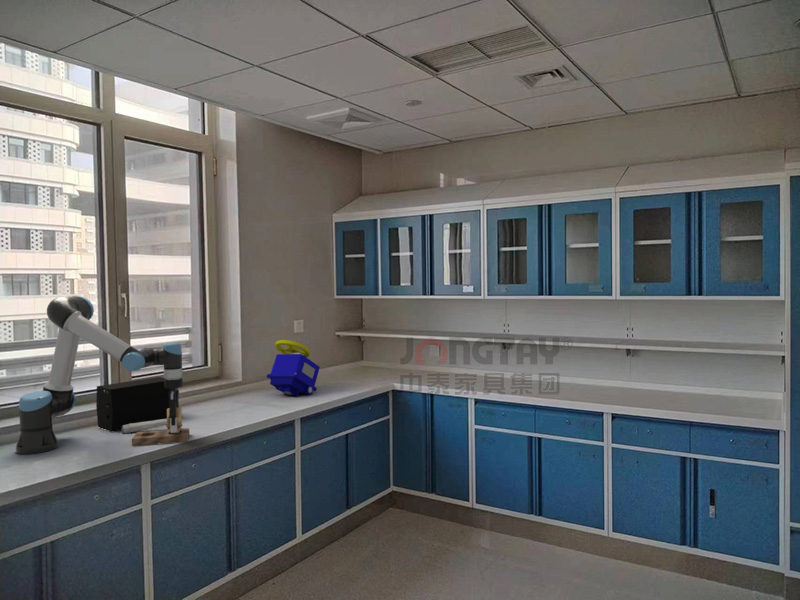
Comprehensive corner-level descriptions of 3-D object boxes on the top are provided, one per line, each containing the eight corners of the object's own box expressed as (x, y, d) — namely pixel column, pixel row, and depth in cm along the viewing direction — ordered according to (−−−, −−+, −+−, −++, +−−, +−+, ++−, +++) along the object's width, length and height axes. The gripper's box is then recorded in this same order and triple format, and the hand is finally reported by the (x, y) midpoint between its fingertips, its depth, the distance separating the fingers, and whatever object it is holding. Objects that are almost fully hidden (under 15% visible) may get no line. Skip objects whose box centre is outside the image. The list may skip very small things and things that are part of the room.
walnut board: (132, 445, 251) (131, 438, 251) (137, 438, 262) (137, 431, 262) (186, 441, 256) (186, 434, 256) (189, 434, 268) (189, 428, 268)
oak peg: (166, 435, 257) (165, 410, 256) (168, 432, 263) (167, 407, 262) (181, 434, 258) (180, 409, 258) (183, 431, 264) (182, 406, 264)
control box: (287, 386, 338) (302, 338, 351) (253, 385, 351) (268, 340, 365) (313, 402, 357) (326, 356, 370) (279, 400, 370) (293, 357, 384)
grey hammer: (122, 423, 275) (179, 412, 281) (125, 437, 275) (181, 426, 282) (120, 426, 270) (178, 415, 276) (123, 440, 270) (180, 428, 277)
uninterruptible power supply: (176, 418, 299) (175, 379, 299) (109, 433, 273) (108, 390, 272) (159, 414, 310) (158, 376, 309) (93, 427, 283) (92, 386, 283)
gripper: (179, 381, 251) (181, 435, 252) (184, 374, 270) (186, 424, 271) (161, 382, 250) (162, 436, 250) (167, 375, 268) (168, 425, 269)
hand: (174, 430), depth 261 cm, fingers closed on oak peg, 6 cm apart
